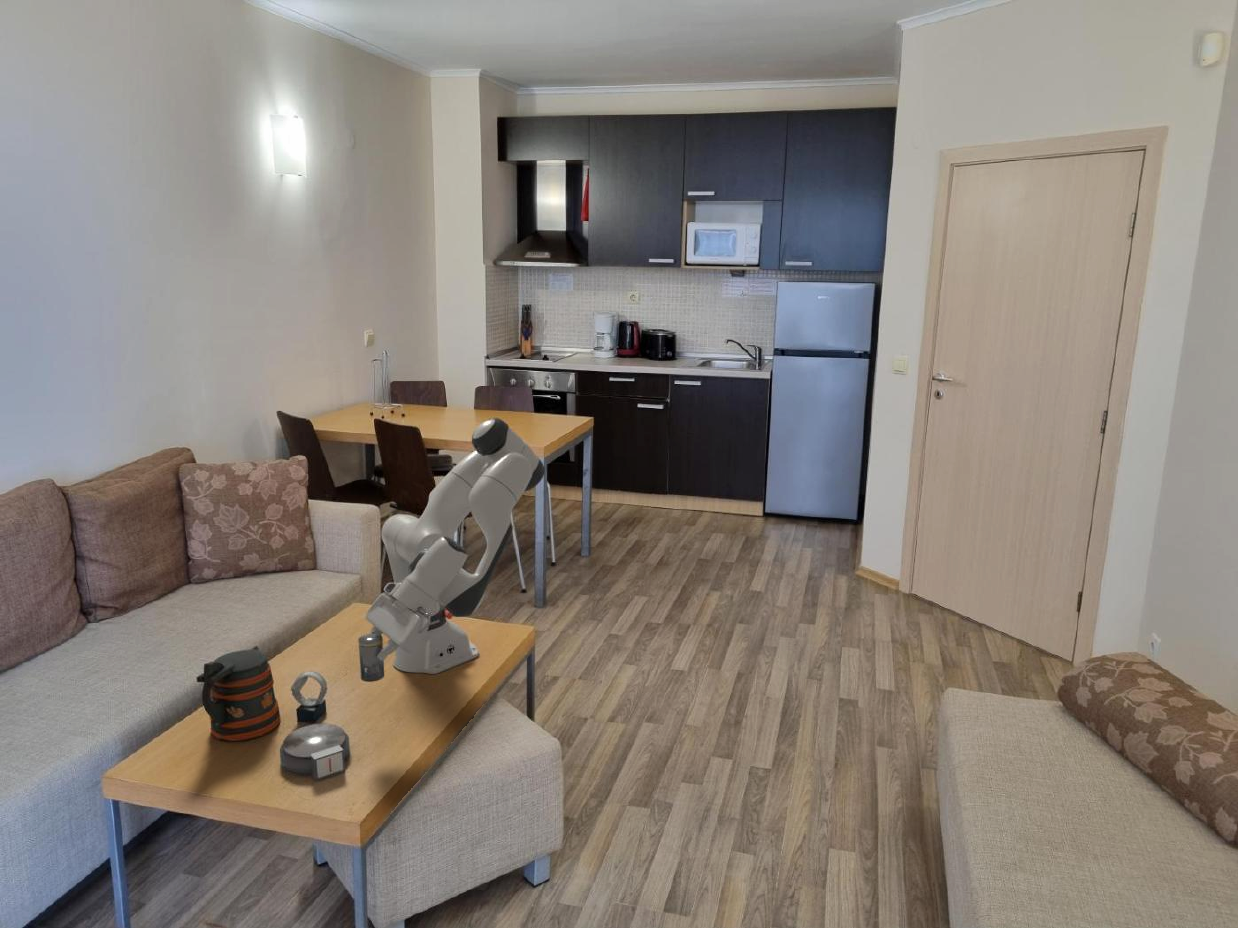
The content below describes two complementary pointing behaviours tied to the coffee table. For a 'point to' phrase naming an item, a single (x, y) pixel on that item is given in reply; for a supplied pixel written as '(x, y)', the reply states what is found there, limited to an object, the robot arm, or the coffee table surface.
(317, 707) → the watch
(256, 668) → the beer stein
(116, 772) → the coffee table surface
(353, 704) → the coffee table surface
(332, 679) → the coffee table surface
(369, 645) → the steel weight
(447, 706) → the coffee table surface
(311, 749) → the pan
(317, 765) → the scale
